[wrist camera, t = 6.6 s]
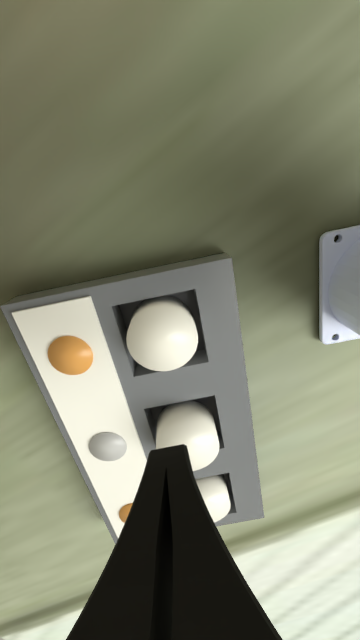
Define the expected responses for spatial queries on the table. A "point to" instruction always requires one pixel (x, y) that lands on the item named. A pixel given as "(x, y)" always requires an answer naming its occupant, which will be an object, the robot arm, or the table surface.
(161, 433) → the button
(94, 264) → the table surface
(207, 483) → the button
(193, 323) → the button
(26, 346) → the button board
